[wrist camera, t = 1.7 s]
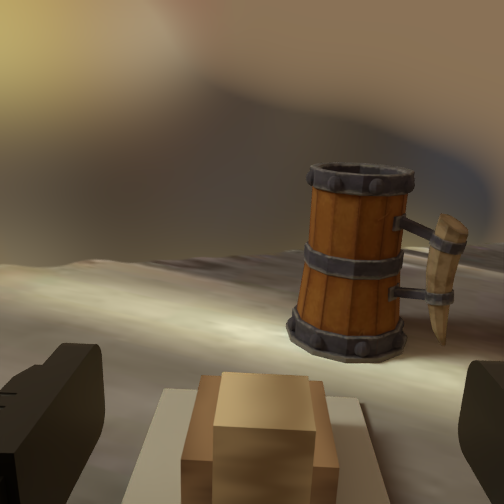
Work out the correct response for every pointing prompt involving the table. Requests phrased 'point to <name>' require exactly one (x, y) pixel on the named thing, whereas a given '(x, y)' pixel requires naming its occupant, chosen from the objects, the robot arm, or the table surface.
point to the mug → (367, 264)
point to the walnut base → (201, 447)
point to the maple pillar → (263, 440)
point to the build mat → (175, 431)
